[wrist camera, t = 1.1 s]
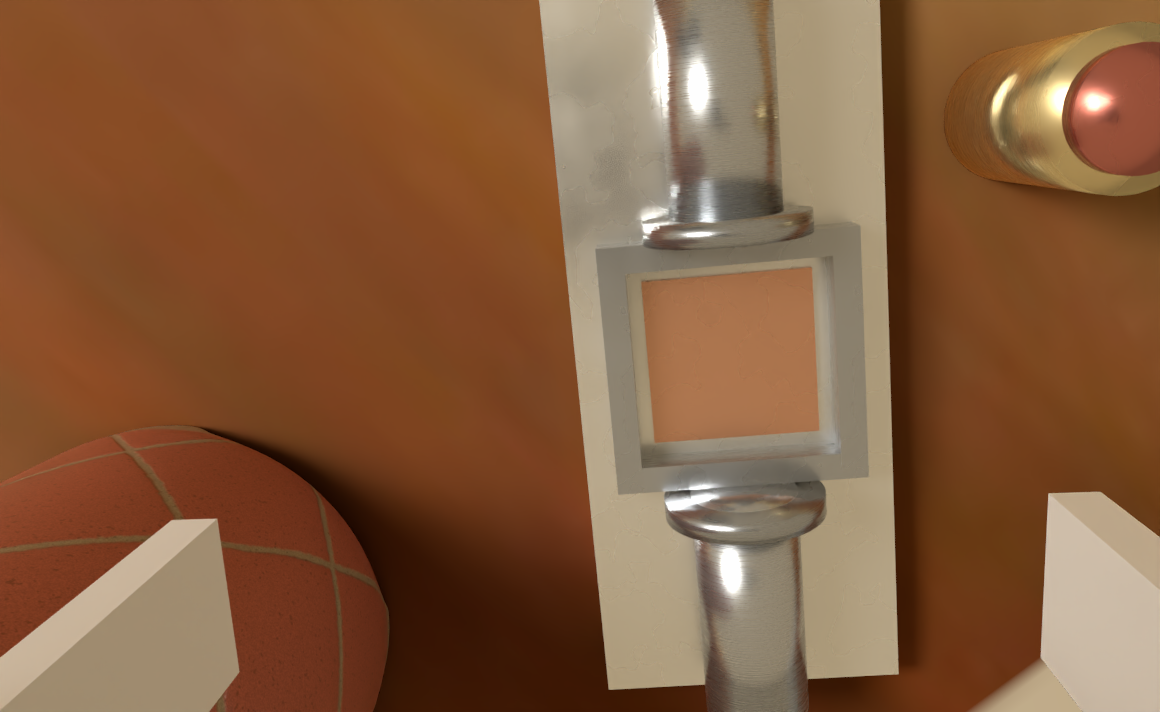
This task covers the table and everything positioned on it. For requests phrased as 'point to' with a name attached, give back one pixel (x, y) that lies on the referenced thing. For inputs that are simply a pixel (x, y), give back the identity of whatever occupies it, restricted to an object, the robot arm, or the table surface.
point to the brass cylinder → (1064, 112)
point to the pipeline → (730, 337)
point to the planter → (249, 547)
